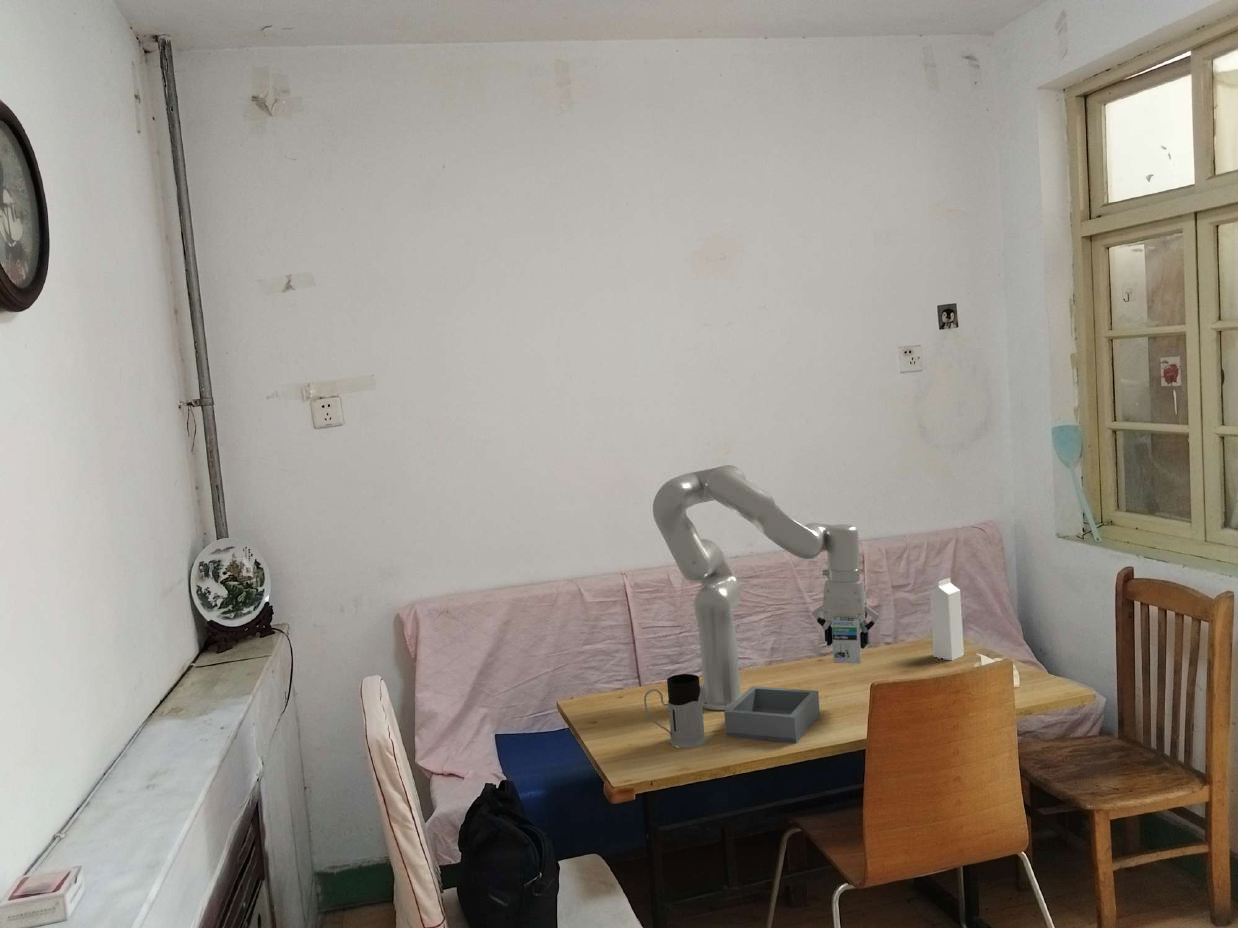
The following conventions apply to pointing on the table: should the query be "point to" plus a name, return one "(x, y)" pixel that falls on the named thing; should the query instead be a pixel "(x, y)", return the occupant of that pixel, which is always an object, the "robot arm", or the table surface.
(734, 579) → the robot arm
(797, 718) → the box
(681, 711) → the glass holder
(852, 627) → the light bulb box
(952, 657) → the milk
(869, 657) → the table surface
